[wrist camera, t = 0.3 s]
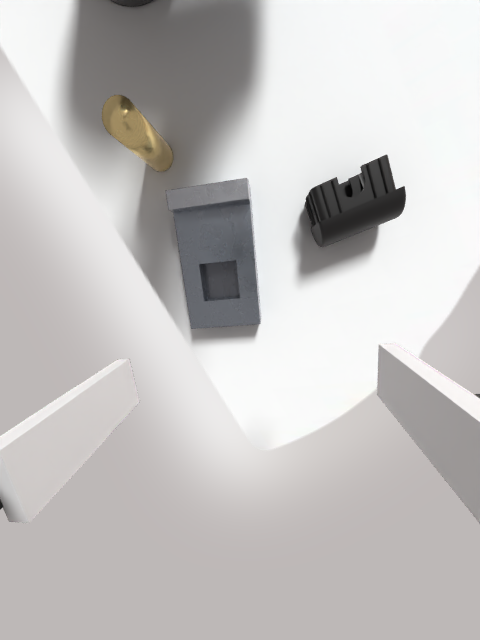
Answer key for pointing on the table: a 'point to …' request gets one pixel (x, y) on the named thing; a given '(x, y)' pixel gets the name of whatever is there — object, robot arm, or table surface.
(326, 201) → the end cap
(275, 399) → the table surface
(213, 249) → the jig
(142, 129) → the brass cylinder rod
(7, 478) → the robot arm
